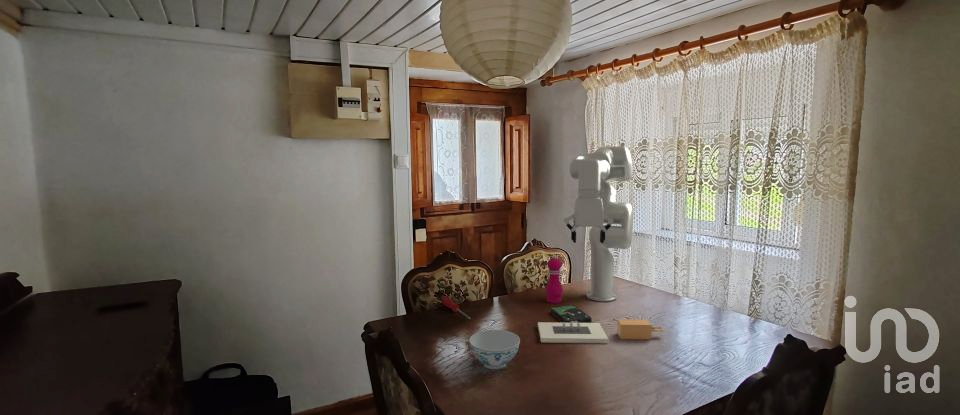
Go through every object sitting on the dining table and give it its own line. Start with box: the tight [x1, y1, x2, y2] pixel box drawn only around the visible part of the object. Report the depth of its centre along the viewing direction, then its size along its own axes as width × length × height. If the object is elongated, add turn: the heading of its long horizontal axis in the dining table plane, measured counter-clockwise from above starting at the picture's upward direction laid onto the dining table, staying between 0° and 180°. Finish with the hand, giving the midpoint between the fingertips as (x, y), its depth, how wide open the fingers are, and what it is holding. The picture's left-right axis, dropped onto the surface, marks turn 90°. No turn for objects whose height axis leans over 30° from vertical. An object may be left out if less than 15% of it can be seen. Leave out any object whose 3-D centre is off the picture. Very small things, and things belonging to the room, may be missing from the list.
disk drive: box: [550, 304, 593, 323], centre depth 170 cm, size 10×3×15 cm
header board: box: [537, 321, 609, 344], centre depth 155 cm, size 14×22×4 cm, turn 87°
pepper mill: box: [545, 254, 564, 304], centre depth 189 cm, size 7×7×20 cm
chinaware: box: [468, 329, 521, 370], centre depth 133 cm, size 15×15×8 cm
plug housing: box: [616, 318, 664, 340], centre depth 152 cm, size 5×14×5 cm, turn 87°
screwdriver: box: [440, 295, 472, 320], centre depth 177 cm, size 4×25×4 cm, turn 27°
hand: (588, 242), depth 159 cm, fingers open, 9 cm apart
